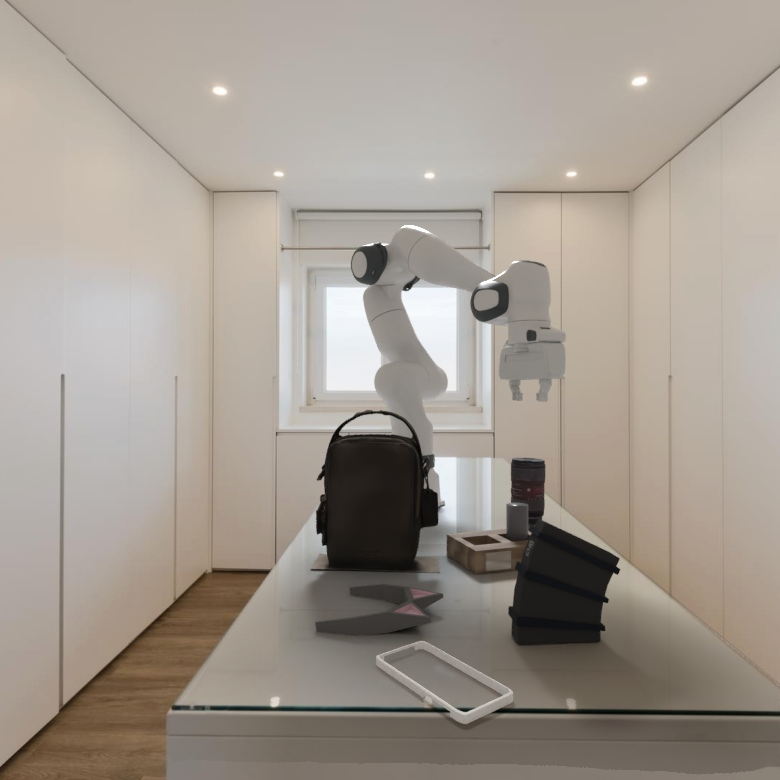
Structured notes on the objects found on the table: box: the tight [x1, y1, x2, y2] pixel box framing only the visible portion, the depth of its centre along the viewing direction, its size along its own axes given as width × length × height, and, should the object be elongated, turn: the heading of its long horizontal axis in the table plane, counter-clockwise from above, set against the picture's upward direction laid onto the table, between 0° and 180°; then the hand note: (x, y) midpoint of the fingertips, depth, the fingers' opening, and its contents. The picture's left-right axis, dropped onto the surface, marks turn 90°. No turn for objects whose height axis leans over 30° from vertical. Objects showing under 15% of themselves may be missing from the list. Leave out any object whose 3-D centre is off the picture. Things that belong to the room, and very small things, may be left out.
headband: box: [314, 583, 444, 637], centre depth 79 cm, size 14×3×15 cm
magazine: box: [507, 519, 621, 646], centre depth 72 cm, size 4×13×15 cm, turn 95°
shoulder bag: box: [310, 409, 441, 574], centre depth 103 cm, size 23×9×28 cm, turn 87°
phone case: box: [375, 640, 514, 725], centre depth 62 cm, size 7×1×15 cm
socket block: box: [446, 528, 531, 575], centre depth 105 cm, size 12×16×4 cm
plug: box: [505, 502, 529, 542], centre depth 107 cm, size 4×4×10 cm
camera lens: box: [510, 457, 546, 525], centre depth 136 cm, size 8×8×15 cm
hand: (529, 401), depth 121 cm, fingers open, 8 cm apart
